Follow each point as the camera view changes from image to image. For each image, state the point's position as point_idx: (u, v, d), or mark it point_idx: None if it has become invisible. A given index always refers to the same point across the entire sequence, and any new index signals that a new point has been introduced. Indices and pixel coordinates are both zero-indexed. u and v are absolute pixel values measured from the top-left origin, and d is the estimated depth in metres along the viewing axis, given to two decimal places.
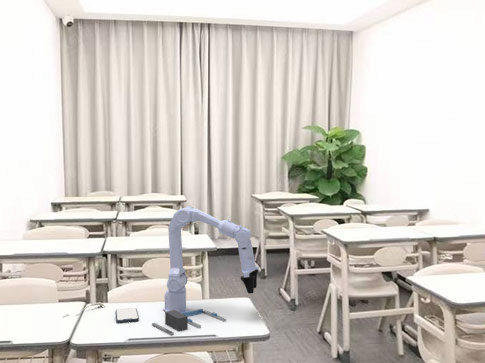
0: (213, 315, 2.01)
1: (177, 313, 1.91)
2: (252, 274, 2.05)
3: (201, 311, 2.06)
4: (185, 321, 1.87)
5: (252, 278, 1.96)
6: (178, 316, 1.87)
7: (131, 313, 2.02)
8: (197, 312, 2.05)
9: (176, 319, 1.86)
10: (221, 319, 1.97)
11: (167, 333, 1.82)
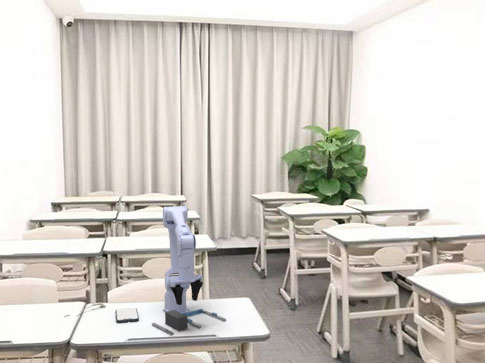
0: (213, 315, 2.01)
1: (177, 313, 1.91)
2: (194, 285, 1.91)
3: (201, 311, 2.06)
4: (185, 321, 1.87)
5: (178, 289, 1.83)
6: (178, 316, 1.87)
7: (131, 313, 2.02)
8: (197, 312, 2.05)
9: (176, 319, 1.86)
10: (221, 319, 1.97)
11: (167, 333, 1.82)
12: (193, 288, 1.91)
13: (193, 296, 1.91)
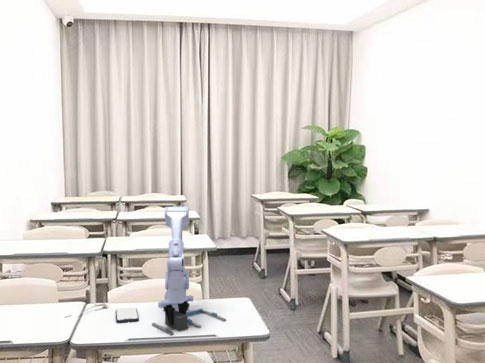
0: (213, 315, 2.01)
1: (177, 313, 1.91)
2: (181, 307, 1.91)
3: (201, 311, 2.06)
4: (185, 321, 1.87)
5: (169, 310, 1.85)
6: (178, 316, 1.87)
7: (131, 313, 2.02)
8: (197, 312, 2.05)
9: (176, 319, 1.86)
10: (221, 319, 1.97)
11: (167, 333, 1.82)
12: (180, 309, 1.92)
13: None
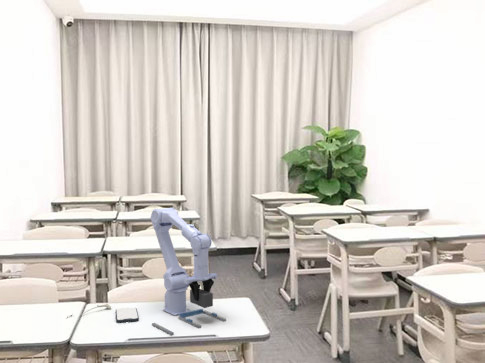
0: (213, 315, 2.01)
1: (202, 291, 1.98)
2: (206, 284, 1.98)
3: (201, 311, 2.06)
4: (210, 298, 1.94)
5: (194, 286, 1.92)
6: (204, 293, 1.94)
7: (131, 313, 2.03)
8: (197, 312, 2.05)
9: (202, 296, 1.93)
10: (221, 319, 1.97)
11: (167, 333, 1.82)
12: (205, 286, 1.99)
13: None
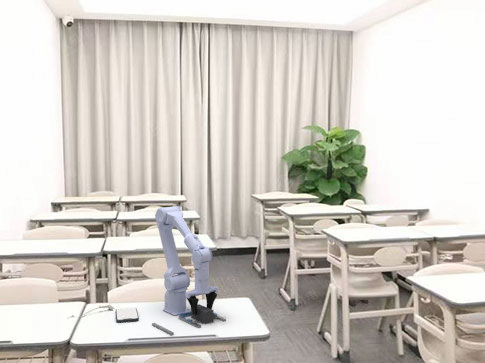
0: None
1: (203, 307, 1.98)
2: (209, 297, 1.99)
3: None
4: (211, 314, 1.94)
5: (193, 301, 1.92)
6: (204, 310, 1.95)
7: (131, 313, 2.03)
8: None
9: (203, 312, 1.93)
10: (221, 319, 1.97)
11: (167, 333, 1.82)
12: (208, 299, 2.00)
13: (208, 307, 2.00)
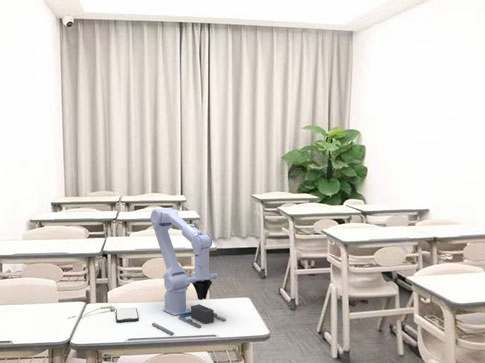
0: None
1: (203, 307, 1.98)
2: (204, 284, 1.97)
3: None
4: (211, 314, 1.94)
5: (198, 285, 1.94)
6: (204, 310, 1.95)
7: (131, 313, 2.03)
8: None
9: (203, 312, 1.93)
10: (221, 319, 1.97)
11: (167, 333, 1.82)
12: (202, 287, 1.98)
13: (202, 294, 1.98)
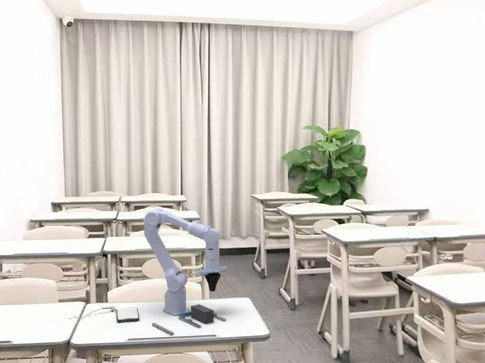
0: None
1: (203, 307, 1.98)
2: None
3: None
4: (211, 314, 1.94)
5: (210, 277, 2.02)
6: (204, 310, 1.95)
7: (132, 313, 2.03)
8: None
9: (203, 312, 1.93)
10: (221, 319, 1.97)
11: (167, 333, 1.82)
12: None
13: None
